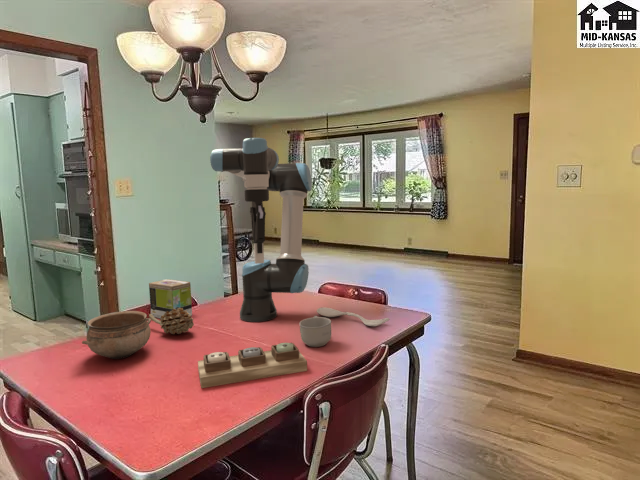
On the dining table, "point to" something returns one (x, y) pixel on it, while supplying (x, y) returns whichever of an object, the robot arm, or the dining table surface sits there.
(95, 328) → the cooking pot
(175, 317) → the pine cone
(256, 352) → the button three
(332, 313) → the spoon
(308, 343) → the teacup
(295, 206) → the robot arm
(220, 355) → the button two
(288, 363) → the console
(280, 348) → the button one
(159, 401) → the dining table surface
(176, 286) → the tea box
